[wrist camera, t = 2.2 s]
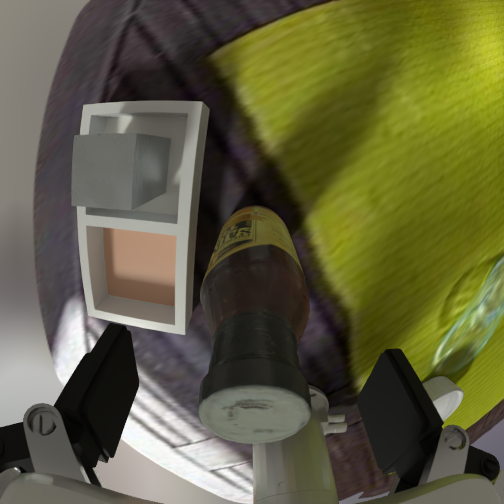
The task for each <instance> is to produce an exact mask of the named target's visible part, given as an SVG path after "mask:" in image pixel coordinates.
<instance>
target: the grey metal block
mask: <svg viewBox="0 0 504 504" xmlns="http://www.w3.org/2000/svg"><path fill="white" fill-rule="evenodd" d="M170 144H171V138H166V137H160V136H153V135H146V134H139V133H111V134H87V135H74V145H73V160H72V206H81V207H94V208H106V209H118V210H129V211H132V210H134V209H136V208H137V207H139V206H141V205H143V204H145V203H147V202H149V201H151V200H152V199H154V198H156V197H158V196H160V195H162V194H164V193H166V186H167V174H168V163H169V153H170Z"/></svg>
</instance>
